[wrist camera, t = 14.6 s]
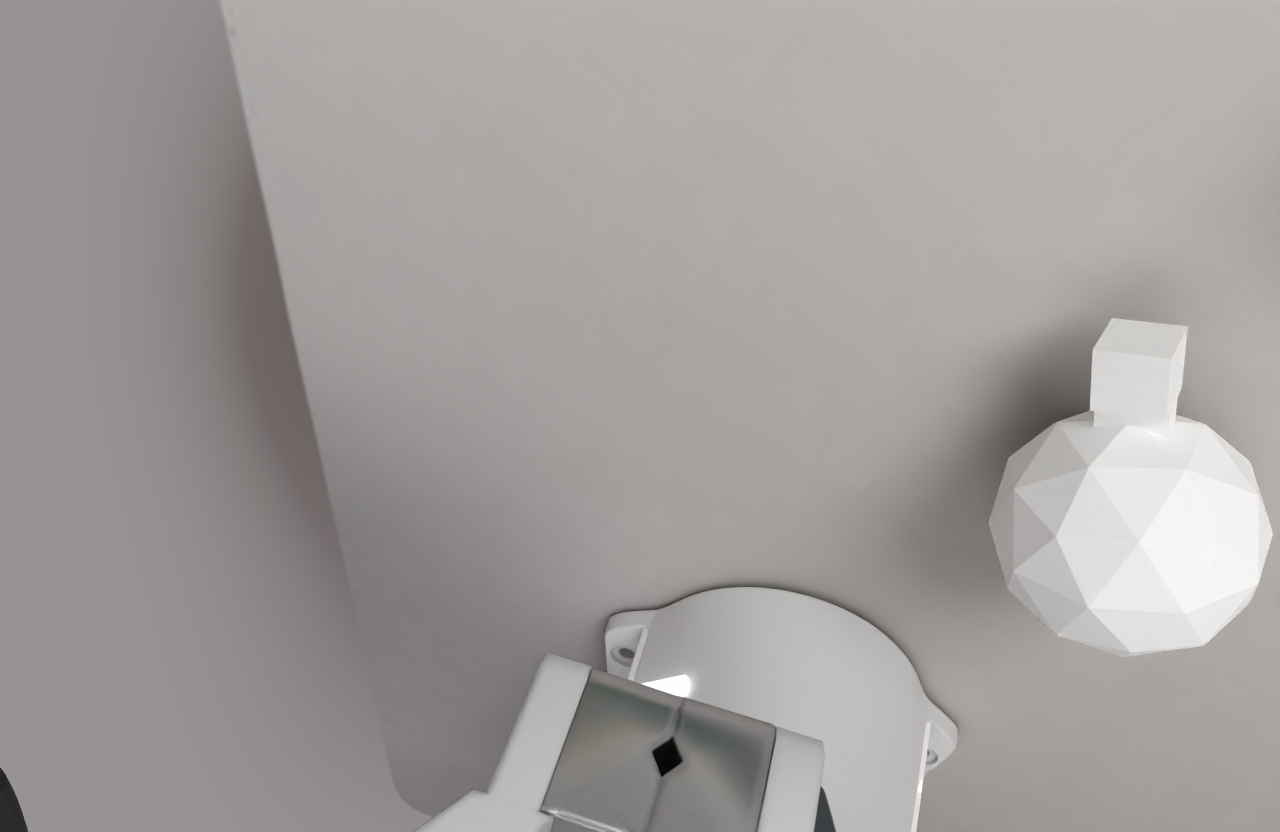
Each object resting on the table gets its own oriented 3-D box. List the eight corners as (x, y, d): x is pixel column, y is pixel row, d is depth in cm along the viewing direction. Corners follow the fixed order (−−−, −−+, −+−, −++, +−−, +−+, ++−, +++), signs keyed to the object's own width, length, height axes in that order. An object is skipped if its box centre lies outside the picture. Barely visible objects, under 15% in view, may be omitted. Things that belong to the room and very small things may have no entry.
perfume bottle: (1271, 581, 40) (1318, 295, 34) (1223, 752, 34) (1271, 439, 28) (1037, 529, 45) (1043, 270, 39) (959, 669, 39) (951, 389, 33)
